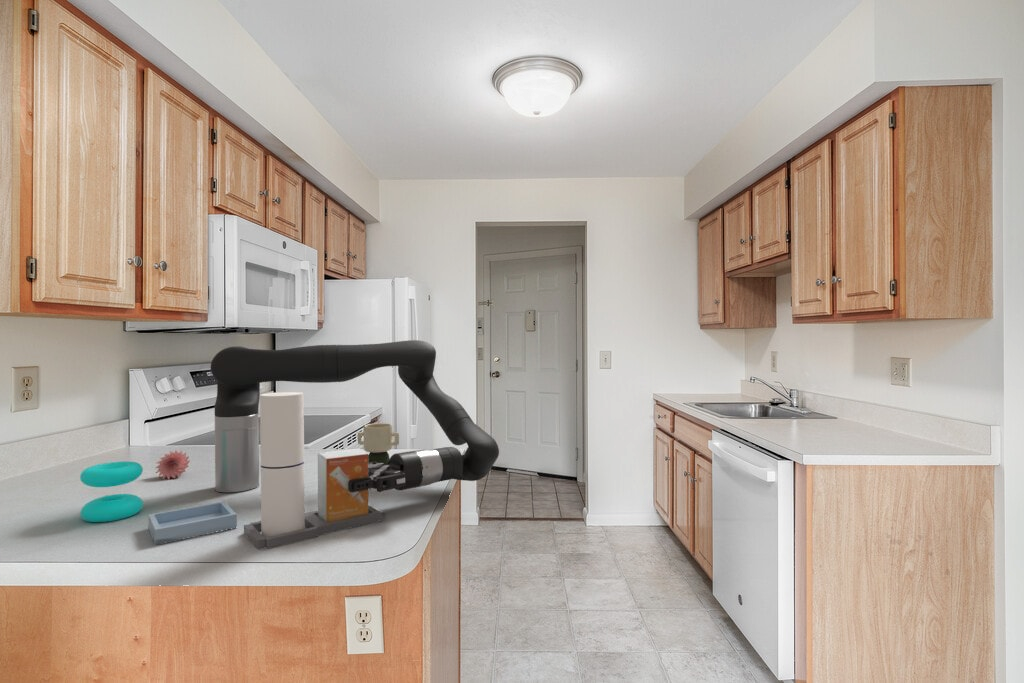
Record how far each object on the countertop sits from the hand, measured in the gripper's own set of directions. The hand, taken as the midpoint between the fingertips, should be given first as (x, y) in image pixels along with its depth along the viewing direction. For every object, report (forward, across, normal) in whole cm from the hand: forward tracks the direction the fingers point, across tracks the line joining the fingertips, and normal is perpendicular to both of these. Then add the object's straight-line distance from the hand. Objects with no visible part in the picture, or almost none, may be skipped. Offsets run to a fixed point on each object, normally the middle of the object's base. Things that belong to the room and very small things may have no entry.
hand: (340, 481), depth 103 cm
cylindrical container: (+10, 0, +8) cm, 13 cm away
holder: (+5, 0, +8) cm, 9 cm away
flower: (+20, -61, +8) cm, 64 cm away
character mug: (-20, -27, +8) cm, 35 cm away
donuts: (+34, -33, +8) cm, 48 cm away
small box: (-1, 0, +8) cm, 8 cm away
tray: (+22, -14, +8) cm, 27 cm away
